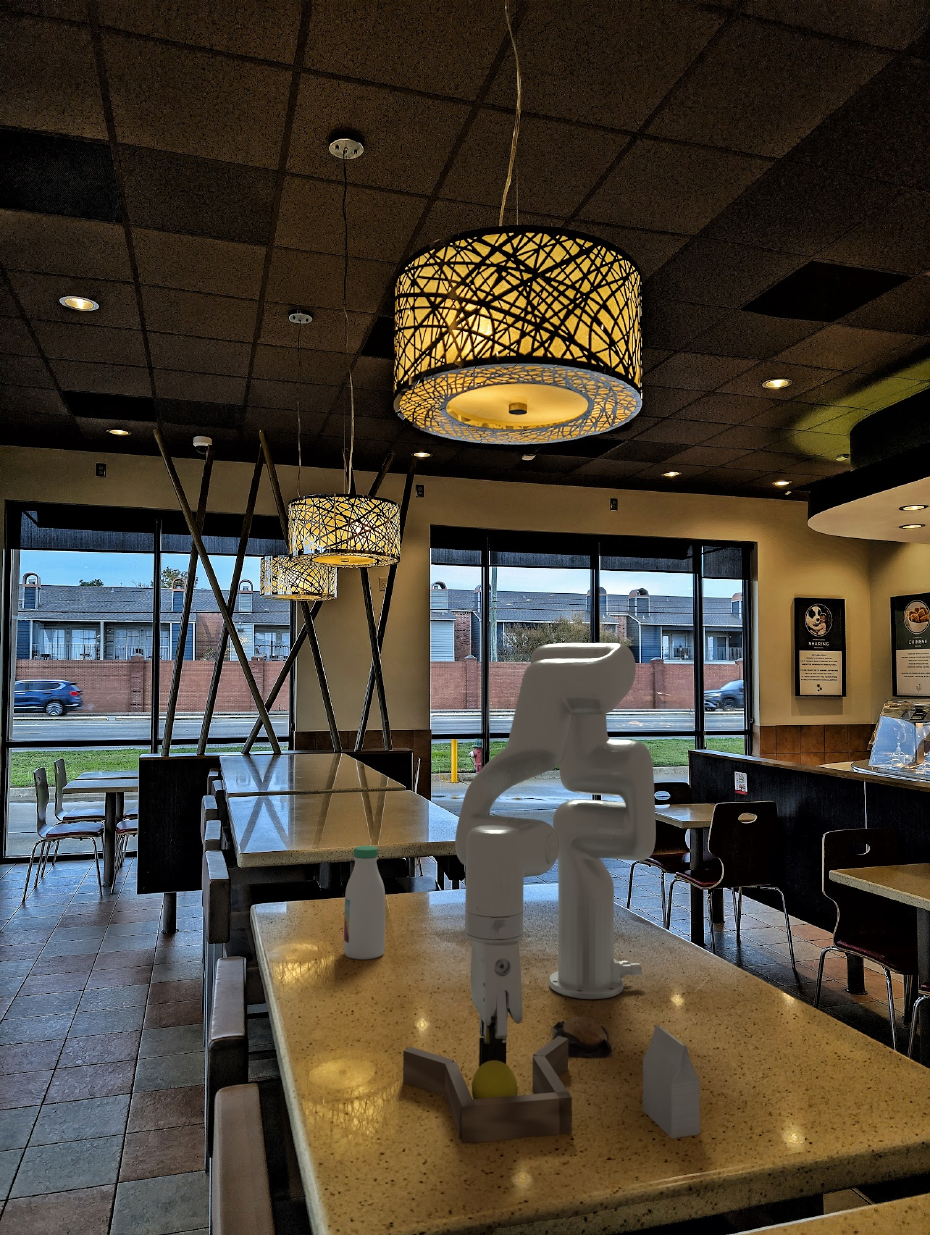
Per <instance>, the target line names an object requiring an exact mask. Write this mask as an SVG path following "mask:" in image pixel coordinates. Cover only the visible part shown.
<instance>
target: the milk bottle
mask: <svg viewBox="0 0 930 1235" xmlns="http://www.w3.org/2000/svg"><path fill="white" fill-rule="evenodd" d="M378 854H379V848H378V847H377V846H373V845H360V846H356V847H354V848H353V860H354V867H353V870H352V872H351V874H350V877H349V879H348V882H347V885H346V888H345V896H344V898H345V899H344V918H343V921H344V922H343V926H344V927H343V931H344V932H343V954H344V955H345V957H347V958H350V959H352V960H353V959H354V960H373V959H376V958H379V957H382V956H383V955H384V952H385V948H386V947H385V945H386V943H385V942H386V941H385V940H386V939H385V938H386V937H385V936H386V891H385V885H384V882H383V879H382V877H381V874H380V872H379V869H378V864H377V861H378V859H379V857H378V856H379V855H378Z"/></svg>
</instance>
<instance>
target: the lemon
mask: <svg viewBox="0 0 930 1235" xmlns="http://www.w3.org/2000/svg"><path fill="white" fill-rule="evenodd" d="M518 1088H519V1087H518V1081H517V1079H516V1076H515V1073H514V1071H513V1070H512V1069H511V1067H510V1066H509V1065H507V1063H506V1064H505V1063H503V1062H500V1061H496V1060H492V1061H488V1062H485V1063H484V1064H482V1065H481V1066H480V1067H479V1066H478V1068H477V1069H476V1071H475V1073H474V1075H473V1079H472V1082H471V1097H472V1099H483V1098H495V1097H506V1096H518V1094H519V1092H518Z"/></svg>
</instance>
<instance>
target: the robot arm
mask: <svg viewBox="0 0 930 1235" xmlns="http://www.w3.org/2000/svg"><path fill="white" fill-rule="evenodd" d="M635 678H636V660H635V656H634V654H633V652H632V650H631V649H630V648H629V647H628V646H627V645H625V644H622V643H617V642H609V643H608V642H607V643H606V642H603V643H602V642H595V643H593V642H589V643H588V642H587V643H585V642H559V643H549V644H544V645H541V646H538V647H536V648H535V649H534V650H533V652H532V653H531V656H530V665H529V666H527V668H526V669H525V671H524V673H523V676H522V680H521V683H520V687H519V691H518V692H519V693H518V696H517V700H516V705H515V709H514V714H513V718H512V723H511V728H510V732H509V735H508V736H509V737H508V741H507V744H506V745H505V747H504V748H503V749H502V750H500V751H499V752H498V753H497V754H495V756H493V757H492V758H491V759H490V760H489V761H487V763H485V765H484V766H483V767H482V768H481V769H480V770H479V772H478V773H477V774H476V775H475V776H474V778H473V779H472V780H471V782H470V783H469V786H468V787H467V789H466V792H465V794H464V797H463V800H462V804H461V809H460V813H459V818H458V821H457V825H456V826H457V827H456V831H455V838H454V846H455V847H454V848H455V853H456V856H457V858H458V860H459V862H460V863H461V864H462V865H463V866H465V903H464V904H465V905H464V906H465V911H464V914H465V916H464V920H465V922H464V936H465V938H466V939H467V940H470V941H471V955H470V997H471V1001H472V1004H473V1005H474V1008H475V1010H476V1012H477V1013H478V1015H479V1035H480V1037H479V1038H478V1040H479V1041H478V1042H479V1044H478V1045H479V1048H478V1068H479V1067H480V1066H481V1065H482V1064H484V1063H485V1062H488V1061H492V1060H496V1061H500V1062H503V1063H505V1064H506V1065H507V1038H508V1016H510V1017H511V1019H512V1021H513V1022H514V1023H516V1025H519V1024H521V1023H522V1021H523V991H522V990H523V987H522V985H523V984H522V983H523V982H522V966H521V964H522V963H521V955H520V954H521V953H520V946H519V941H521V940H522V939H523V938H524V880H525V879H524V878H528V877H529V878H530V877H537V876H542V875H544V874H546V873H547V872H548V871H550V870H551V869H552V868H553V866H554V865H555V863H556V862H557V871H558V872H557V875H558V878H557V880H558V885H557V886H558V891H557V892H558V896H557V897H558V902H557V905H558V907H557V911H558V912H557V913H558V920H557V921H558V922H557V924H558V925H557V926H558V927H557V928H558V929H557V931H558V934H557V935H558V936H557V939H558V940H557V942H558V944H557V946H558V947H557V948H558V949H557V950H558V951H557V959H558V960H557V962H558V963H557V968H558V970H557V971H555V972H553V973H552V974H550V975H549V978H548V985H549V987H550V988H551V989H552V990H553V991H555V992H556V993H557V994H560V995H563V996H565V997H568V998H575V999H581V1000H582V999H583V1000H600V999H607V998H612V997H615V996H617V995H619V994H621V993H622V992H623V990H624V981H623V979H624V978H625V976H630V977H631V976H642V965H641V963H639V962H638V963H635V962H634V963H629V961H628V960H620V961H618V960H617V959H616V958H615V916H614V915H615V913H614V912H615V907H614V906H615V904H614V903H615V901H614V900H615V887H614V882H613V878H612V876H611V874H610V872H609V869H608V868H607V867H606V865H605V863H604V862H603V861H602V859H613V860H624V861H634V862H635V861H637V862H639V861H644V860H647V859H648V858H650V857H651V856H652V855H653V853H654V849H655V845H656V839H657V838H656V836H657V834H656V833H657V831H656V826H657V824H656V804H655V803H656V802H655V780H654V778H655V777H654V775H655V774H654V766H653V759H652V756H651V752H650V751H649V749H648V748H647V746H646V745H645V744H644V743H642V742H640V741H637V740H633V739H632V740H631V739H615V738H614V739H613V738H610V736H608V727H607V726H608V724H607V714H609V713H611V712H613V710H614V709H615V708H617V707H618V705H620V703H621V702H622V700H624V698H625V697H626V696H627V695H628V693H629V692H630V690H631V689H632V687H633V685H634V683H635V680H636V679H635ZM557 767H558V769H559V770H558V771H559V776H560V780H561V781H560V782H561V784H562V786H563V787H564V789H566V790H567V791H569V792H572V793H577V794H584V795H596V796H608V797H609V796H611V797H612V796H613V797H620V798H621V799H622V800H623V801H622V802H621V801H607V800H599V799H598V800H597V799H584V798H583V799H582V798H581V799H571V800H567V801H564V802H562V803H561V804H560V805H558V806H557V808H556V810H555V811H554V814H553V817H552V825H551V824H550V823H548V822H547V821H544V820H541V819H535V818H525V817H514V816H503V815H494V814H493V815H492V814H490V811H491V809H492V807H493V805H494V804H495V802H496V800H497V799H499V797H500V796H502V794H503V793H504V792H506V791H507V790H509V789H511V788H512V787H514V786H515V785H518V784H520V783H522V782H525V781H527V780H530V779H532V778H534V777H537V776H540V775H541V774H545V773H547V772H550V771H552V770H554V769H556V768H557Z"/></svg>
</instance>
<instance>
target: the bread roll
mask: <svg viewBox="0 0 930 1235" xmlns="http://www.w3.org/2000/svg"><path fill="white" fill-rule="evenodd" d="M550 1030H551V1035H552V1040H553V1039H555V1038H556V1037H558V1036H560V1037H564V1038H568V1059H579V1058H580V1059H584V1058H585V1059H606V1058H613V1057H614V1053H613V1049H612V1046H611V1045H612V1044H610V1042H609V1038H610V1036H609V1032H608V1031H607V1029H606V1028H605V1027H604V1026H602V1025H600V1024H599V1022H597V1021H596V1020H595V1019H593V1018H591V1017H589V1016H575V1017H570V1018H568V1019H566V1020H565V1021H558V1022H556V1024H554V1025H553V1027H551V1028H550Z"/></svg>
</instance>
